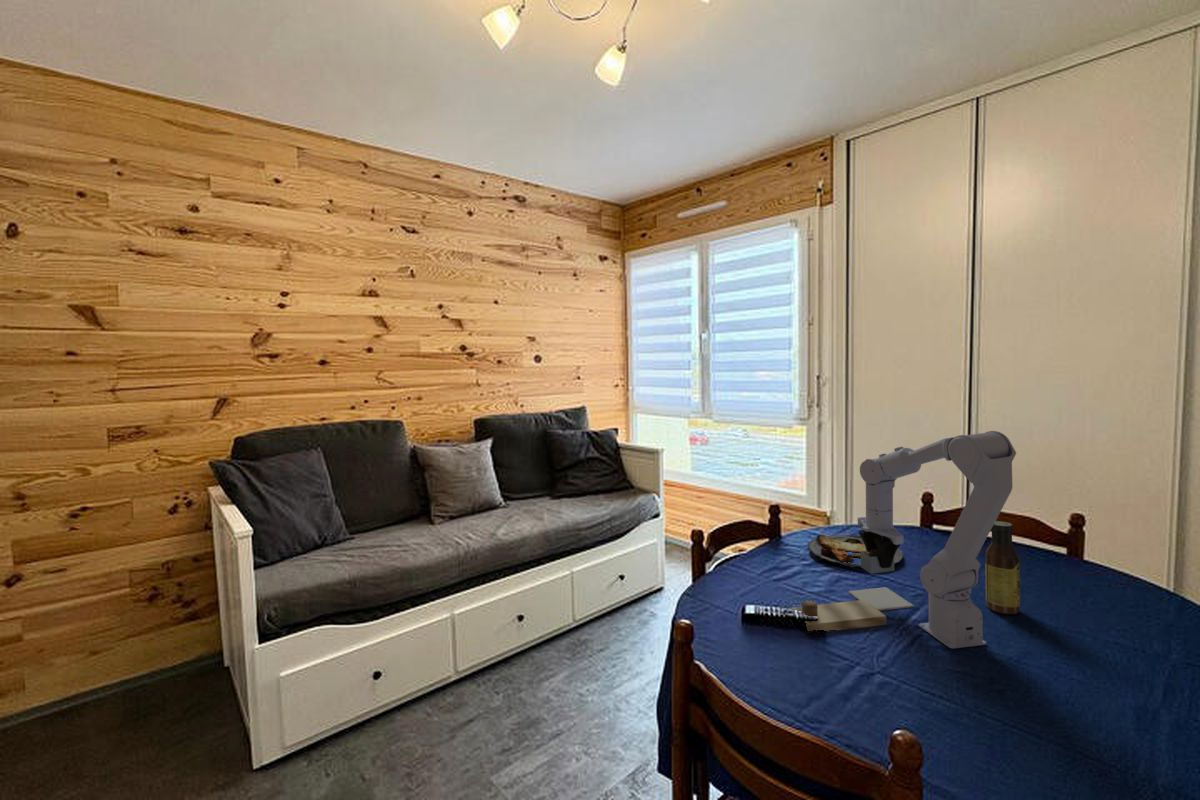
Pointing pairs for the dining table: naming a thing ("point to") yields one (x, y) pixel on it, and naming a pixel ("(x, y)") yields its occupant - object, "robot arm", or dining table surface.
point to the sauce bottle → (1002, 571)
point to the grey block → (873, 562)
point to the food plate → (841, 549)
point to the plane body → (841, 615)
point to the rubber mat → (881, 598)
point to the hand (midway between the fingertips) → (879, 563)
